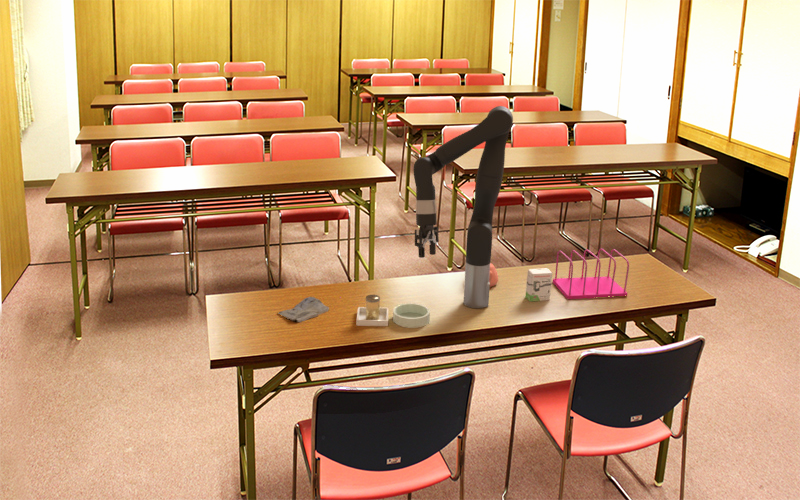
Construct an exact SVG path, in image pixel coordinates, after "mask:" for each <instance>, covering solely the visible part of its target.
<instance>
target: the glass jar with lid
mask: <svg viewBox="0 0 800 500" xmlns="http://www.w3.org/2000/svg"><path fill="white" fill-rule="evenodd" d="M380 301H381V296H379V295H377V294H369V295H366V296H365V307H366V320H379V319H380V308H381V305H380V304H381V302H380Z"/></svg>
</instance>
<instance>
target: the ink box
mask: <svg viewBox="0 0 800 500" xmlns="http://www.w3.org/2000/svg"><path fill="white" fill-rule="evenodd" d="M526 273H527V276H526V285H525V286H526V287H525V295H524V296H525V299H527V301H529V302H538V301H539V302H543V301H550V298H551V289H552V283H553V272H552V271H551V270H550V269H549V268H546V267H544V268H542V267H541V268H529V269H527V272H526Z"/></svg>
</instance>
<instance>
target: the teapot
mask: <svg viewBox="0 0 800 500" xmlns="http://www.w3.org/2000/svg"><path fill="white" fill-rule="evenodd" d="M489 283H490V288H491V287H494V286H495V285H497V283H499V275H498V271H497V268H496V267H495V266H494V264H493V263H491V262H490V275H489Z"/></svg>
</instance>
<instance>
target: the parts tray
mask: <svg viewBox="0 0 800 500" xmlns="http://www.w3.org/2000/svg"><path fill="white" fill-rule="evenodd" d="M355 323H356V326H359V327H360V326H361V327H367V326H368V327H388V326H389V307H380V319H379V320H366V306H365V307H364V306H358V307H357V311H356V322H355Z"/></svg>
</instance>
